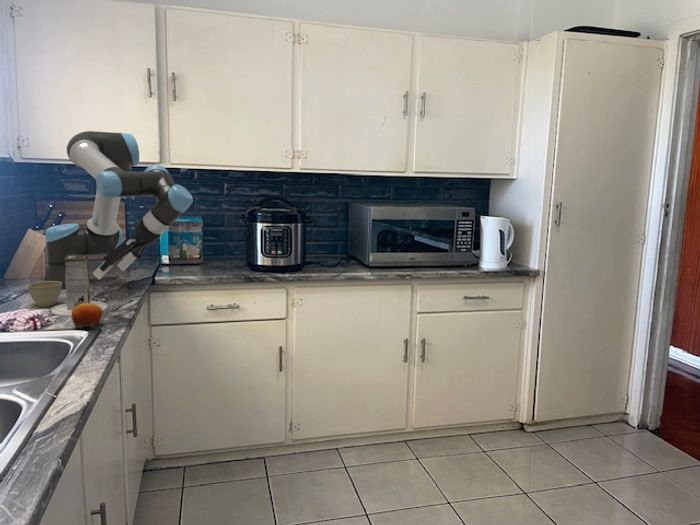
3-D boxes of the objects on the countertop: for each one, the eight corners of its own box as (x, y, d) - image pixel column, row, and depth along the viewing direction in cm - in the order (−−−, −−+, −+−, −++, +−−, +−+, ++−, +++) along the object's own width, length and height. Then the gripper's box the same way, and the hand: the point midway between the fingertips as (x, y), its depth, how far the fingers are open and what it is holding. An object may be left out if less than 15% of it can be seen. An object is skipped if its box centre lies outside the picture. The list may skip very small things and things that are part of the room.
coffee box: (69, 303, 178) (66, 254, 175) (91, 302, 180) (88, 254, 178) (66, 310, 170) (62, 259, 167) (89, 308, 172) (86, 258, 169)
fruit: (70, 328, 151) (70, 300, 154) (73, 335, 158) (72, 309, 160) (102, 325, 154) (101, 298, 157) (103, 332, 161) (102, 306, 164)
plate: (72, 303, 184) (71, 299, 184) (116, 305, 182) (116, 301, 182) (40, 315, 169) (39, 310, 168) (88, 317, 167) (87, 313, 166)
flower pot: (55, 299, 188) (54, 279, 187) (68, 304, 182) (67, 283, 181) (24, 305, 180) (22, 284, 179) (36, 310, 174) (34, 288, 173)
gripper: (140, 241, 155) (94, 289, 160) (178, 231, 180) (137, 273, 184) (122, 221, 155) (76, 270, 159) (162, 214, 179) (121, 257, 184)
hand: (108, 272), depth 172 cm, fingers open, 13 cm apart
